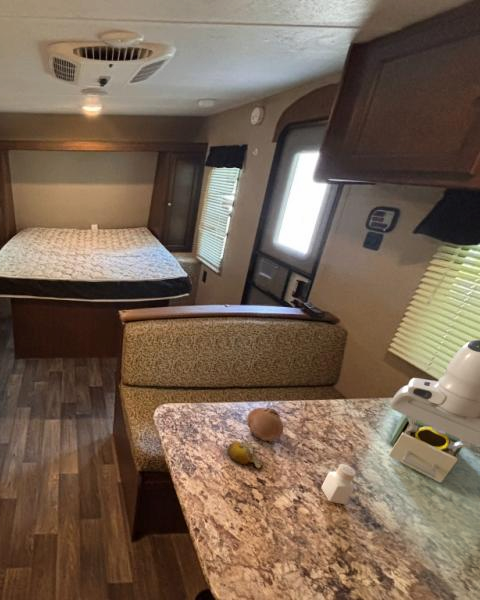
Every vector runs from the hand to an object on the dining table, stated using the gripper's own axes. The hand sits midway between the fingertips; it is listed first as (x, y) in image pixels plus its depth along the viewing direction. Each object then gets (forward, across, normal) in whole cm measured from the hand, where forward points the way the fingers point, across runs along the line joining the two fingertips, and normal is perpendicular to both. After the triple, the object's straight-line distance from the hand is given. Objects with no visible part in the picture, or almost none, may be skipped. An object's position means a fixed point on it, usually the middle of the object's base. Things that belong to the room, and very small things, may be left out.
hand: (430, 439), depth 85 cm
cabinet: (+9, 0, -11) cm, 14 cm away
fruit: (+9, +30, +37) cm, 49 cm away
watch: (+2, 0, 0) cm, 2 cm away
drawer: (+8, 0, 0) cm, 8 cm away
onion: (+9, +31, +25) cm, 41 cm away
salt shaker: (+9, +12, +31) cm, 34 cm away
